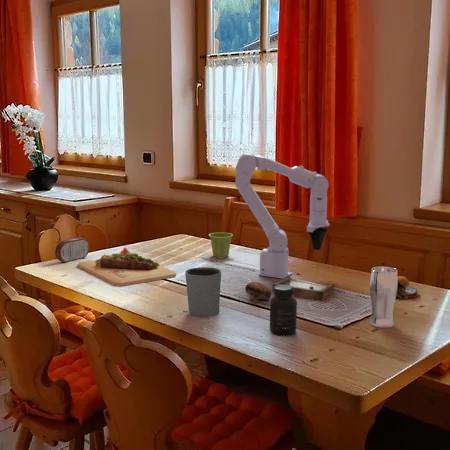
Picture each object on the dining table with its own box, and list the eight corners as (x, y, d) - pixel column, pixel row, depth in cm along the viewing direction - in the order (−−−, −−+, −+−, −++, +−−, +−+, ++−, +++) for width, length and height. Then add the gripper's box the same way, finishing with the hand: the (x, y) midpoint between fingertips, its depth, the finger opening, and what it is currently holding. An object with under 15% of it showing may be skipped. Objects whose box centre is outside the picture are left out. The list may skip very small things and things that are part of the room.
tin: (85, 256, 240) (85, 235, 239) (91, 257, 238) (90, 236, 237) (55, 263, 228) (53, 241, 227) (60, 264, 226) (59, 242, 225)
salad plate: (390, 287, 198) (392, 264, 197) (424, 294, 190) (426, 271, 189) (370, 294, 190) (371, 271, 189) (404, 302, 182) (406, 278, 180)
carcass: (272, 292, 191) (272, 282, 191) (286, 284, 200) (286, 275, 199) (321, 300, 183) (322, 290, 182) (333, 291, 192) (334, 282, 191)
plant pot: (232, 259, 236) (232, 237, 234) (208, 258, 236) (208, 236, 234) (232, 253, 245) (232, 232, 243) (209, 253, 245) (209, 232, 244)
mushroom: (249, 296, 176) (255, 276, 178) (237, 299, 183) (243, 280, 185) (272, 306, 178) (278, 287, 180) (259, 309, 185) (265, 291, 187)
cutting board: (75, 267, 224) (74, 247, 223) (132, 258, 238) (132, 240, 237) (117, 288, 197) (117, 266, 195) (179, 277, 210) (179, 256, 209)
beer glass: (396, 329, 157) (399, 273, 155) (368, 327, 159) (371, 271, 156) (394, 320, 164) (397, 266, 162) (367, 319, 166) (370, 265, 163)
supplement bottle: (267, 327, 158) (268, 283, 156) (293, 327, 159) (294, 282, 157) (271, 337, 152) (272, 290, 150) (298, 336, 152) (299, 290, 150)
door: (283, 292, 193) (283, 285, 192) (293, 287, 199) (293, 280, 198) (317, 298, 186) (318, 291, 186) (327, 293, 192) (327, 286, 192)
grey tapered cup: (208, 320, 164) (208, 277, 162) (178, 314, 169) (177, 272, 167) (228, 310, 173) (228, 269, 170) (198, 304, 178) (198, 265, 176)
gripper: (321, 214, 199) (320, 254, 201) (336, 208, 211) (335, 246, 213) (301, 212, 202) (300, 252, 204) (317, 207, 214) (316, 244, 217)
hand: (317, 249), depth 209 cm, fingers closed
